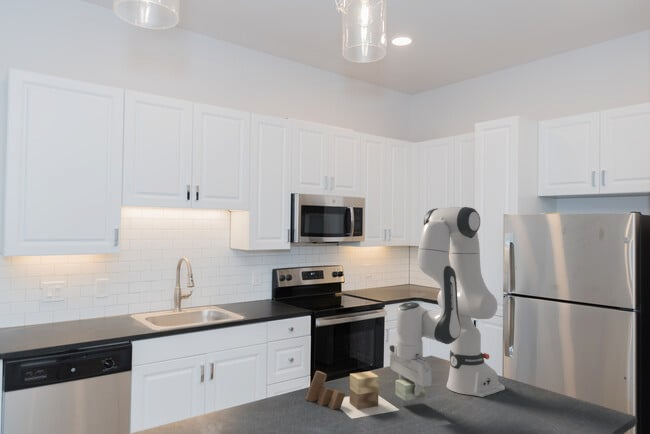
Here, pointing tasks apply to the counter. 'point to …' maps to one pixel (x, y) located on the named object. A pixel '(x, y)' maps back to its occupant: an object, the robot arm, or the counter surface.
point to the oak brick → (364, 382)
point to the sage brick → (407, 389)
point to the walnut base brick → (364, 399)
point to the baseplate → (354, 413)
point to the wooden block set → (324, 392)
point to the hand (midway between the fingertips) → (410, 390)
